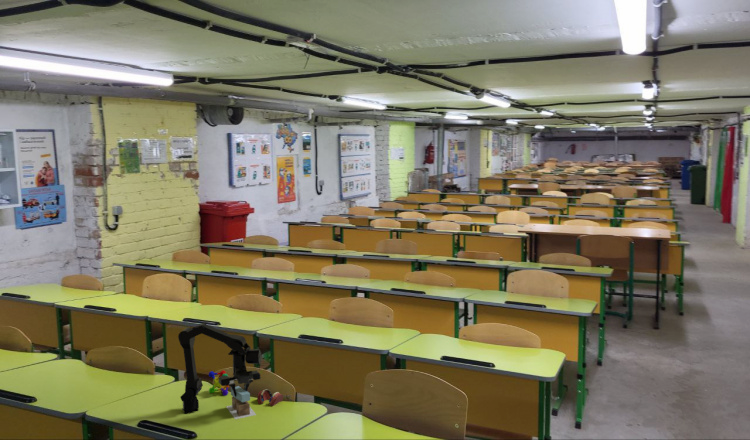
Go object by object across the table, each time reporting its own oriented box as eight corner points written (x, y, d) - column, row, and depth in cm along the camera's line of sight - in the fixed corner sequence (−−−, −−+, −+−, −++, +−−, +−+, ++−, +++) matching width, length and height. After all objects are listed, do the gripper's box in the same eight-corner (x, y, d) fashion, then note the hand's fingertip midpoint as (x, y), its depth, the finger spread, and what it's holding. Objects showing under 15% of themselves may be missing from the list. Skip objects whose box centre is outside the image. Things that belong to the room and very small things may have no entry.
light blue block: (250, 400, 277) (249, 393, 277) (242, 402, 274) (242, 395, 274) (238, 392, 286) (238, 385, 286) (231, 395, 284) (230, 387, 284)
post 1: (234, 410, 281) (234, 400, 281) (232, 406, 286) (231, 396, 285) (245, 408, 283) (244, 398, 283) (242, 404, 288) (242, 394, 287)
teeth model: (275, 394, 284) (255, 391, 290) (275, 407, 285) (255, 404, 290) (285, 389, 292) (265, 386, 297) (285, 402, 292) (265, 398, 297)
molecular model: (207, 393, 304) (206, 371, 303) (216, 389, 310) (216, 367, 309) (224, 397, 299) (224, 375, 298) (234, 392, 305) (233, 371, 304)
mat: (235, 419, 271) (235, 419, 271) (226, 407, 286) (226, 406, 286) (256, 415, 276) (256, 414, 276) (246, 403, 291) (246, 402, 291)
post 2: (239, 416, 274) (238, 406, 274) (236, 412, 278) (236, 402, 278) (249, 414, 276) (249, 403, 276) (246, 410, 281) (246, 400, 280)
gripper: (223, 371, 268) (224, 405, 269) (263, 365, 276) (264, 397, 278) (217, 364, 277) (218, 397, 279) (256, 358, 286) (257, 389, 287)
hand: (240, 395), depth 280 cm, fingers closed on light blue block, 4 cm apart
